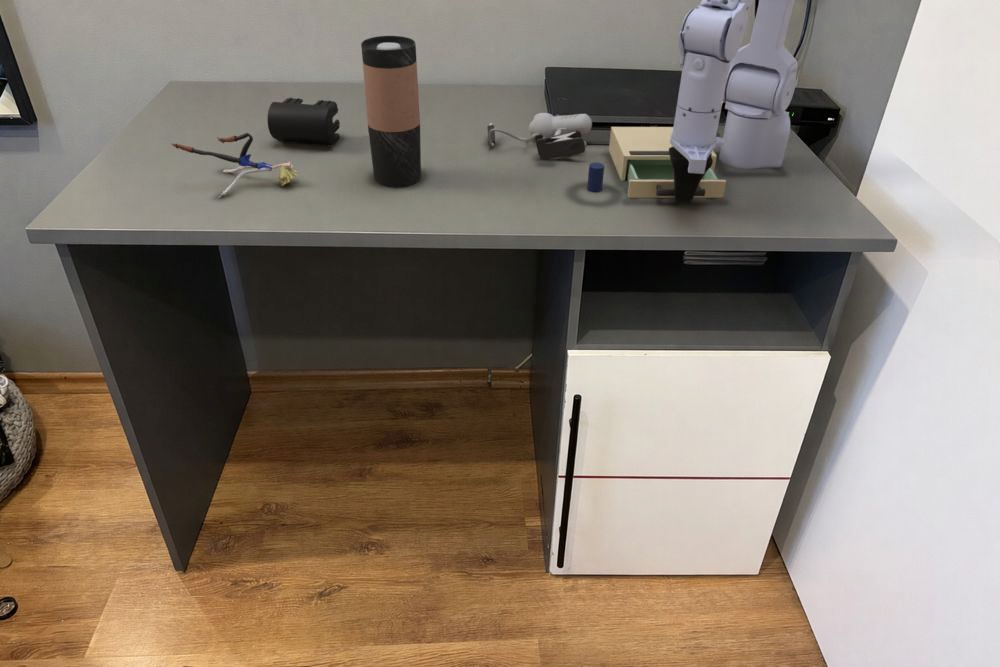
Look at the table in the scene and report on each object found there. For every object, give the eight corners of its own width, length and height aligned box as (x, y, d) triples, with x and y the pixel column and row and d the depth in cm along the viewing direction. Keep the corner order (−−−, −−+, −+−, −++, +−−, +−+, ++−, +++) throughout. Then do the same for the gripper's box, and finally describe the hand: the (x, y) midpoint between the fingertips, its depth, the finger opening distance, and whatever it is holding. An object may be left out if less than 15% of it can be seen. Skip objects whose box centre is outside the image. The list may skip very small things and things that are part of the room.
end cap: (271, 148, 124) (264, 108, 120) (287, 132, 130) (281, 93, 126) (329, 153, 123) (324, 112, 119) (343, 137, 128) (339, 97, 124)
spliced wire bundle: (298, 236, 114) (162, 199, 110) (313, 195, 119) (183, 159, 115) (302, 190, 105) (155, 149, 102) (318, 148, 110) (178, 108, 107)
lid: (613, 184, 115) (616, 156, 112) (620, 204, 109) (624, 175, 107) (568, 184, 114) (570, 156, 112) (574, 204, 109) (576, 175, 106)
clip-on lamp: (479, 173, 124) (585, 163, 118) (469, 137, 121) (579, 126, 115) (497, 141, 133) (597, 130, 127) (489, 107, 129) (592, 94, 123)
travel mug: (430, 171, 117) (425, 38, 106) (410, 191, 112) (401, 52, 100) (386, 164, 119) (376, 33, 108) (363, 183, 114) (350, 46, 102)
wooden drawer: (701, 168, 120) (704, 149, 118) (727, 208, 108) (731, 188, 106) (614, 167, 119) (616, 149, 117) (630, 208, 108) (633, 188, 106)
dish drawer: (691, 154, 125) (697, 125, 122) (711, 185, 115) (717, 155, 112) (608, 154, 124) (611, 125, 121) (620, 185, 114) (624, 154, 112)
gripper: (738, 127, 92) (717, 226, 100) (723, 89, 104) (705, 181, 112) (679, 124, 92) (663, 223, 100) (671, 86, 104) (657, 178, 112)
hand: (682, 200), depth 106 cm, fingers closed
